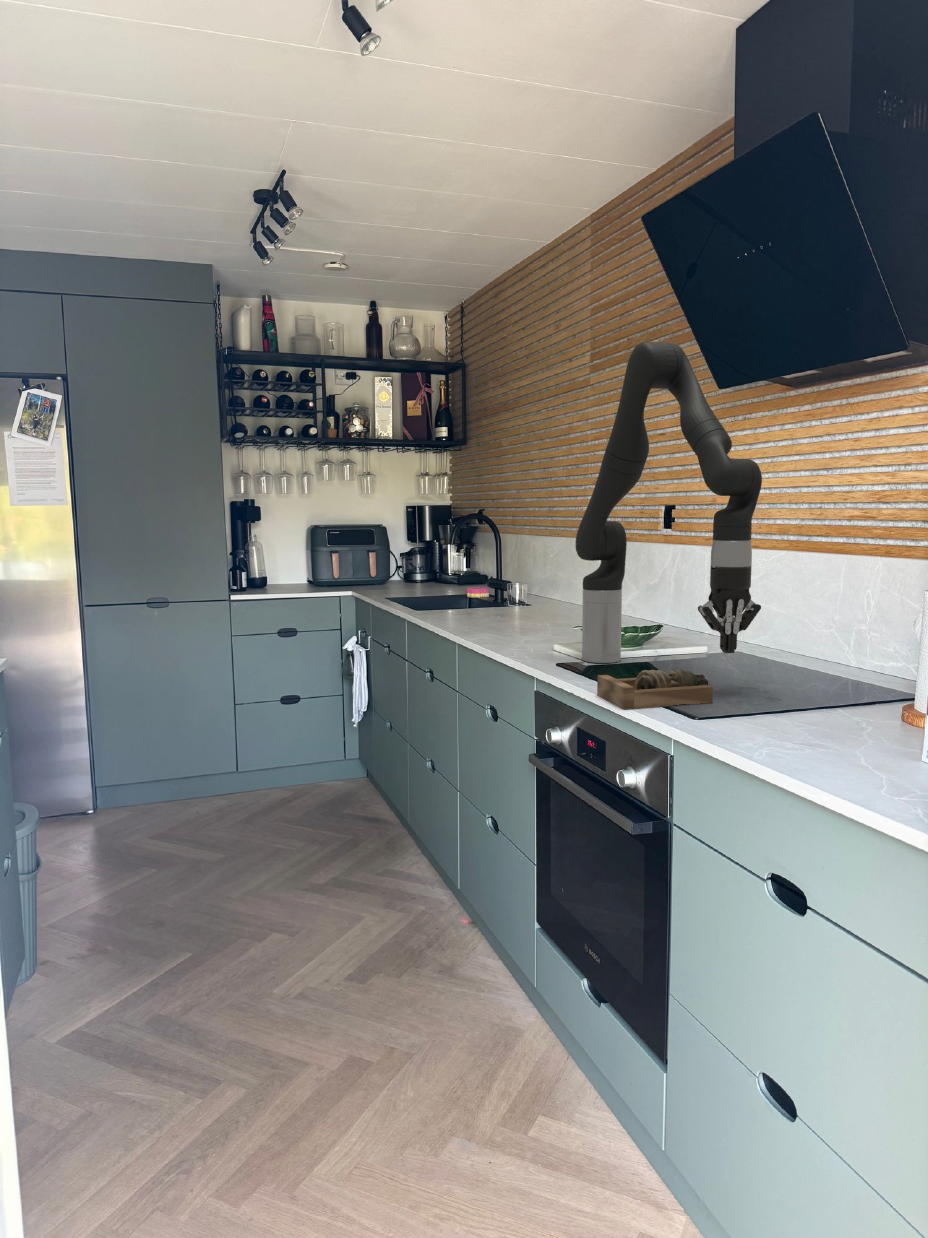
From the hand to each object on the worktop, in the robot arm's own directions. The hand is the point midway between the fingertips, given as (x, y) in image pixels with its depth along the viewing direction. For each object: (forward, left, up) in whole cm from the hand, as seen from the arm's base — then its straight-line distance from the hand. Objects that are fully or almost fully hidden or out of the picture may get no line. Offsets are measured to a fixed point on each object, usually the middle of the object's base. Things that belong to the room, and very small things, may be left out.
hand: (727, 652), depth 160 cm
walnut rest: (0, -15, -8) cm, 17 cm away
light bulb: (+1, -5, -5) cm, 7 cm away
